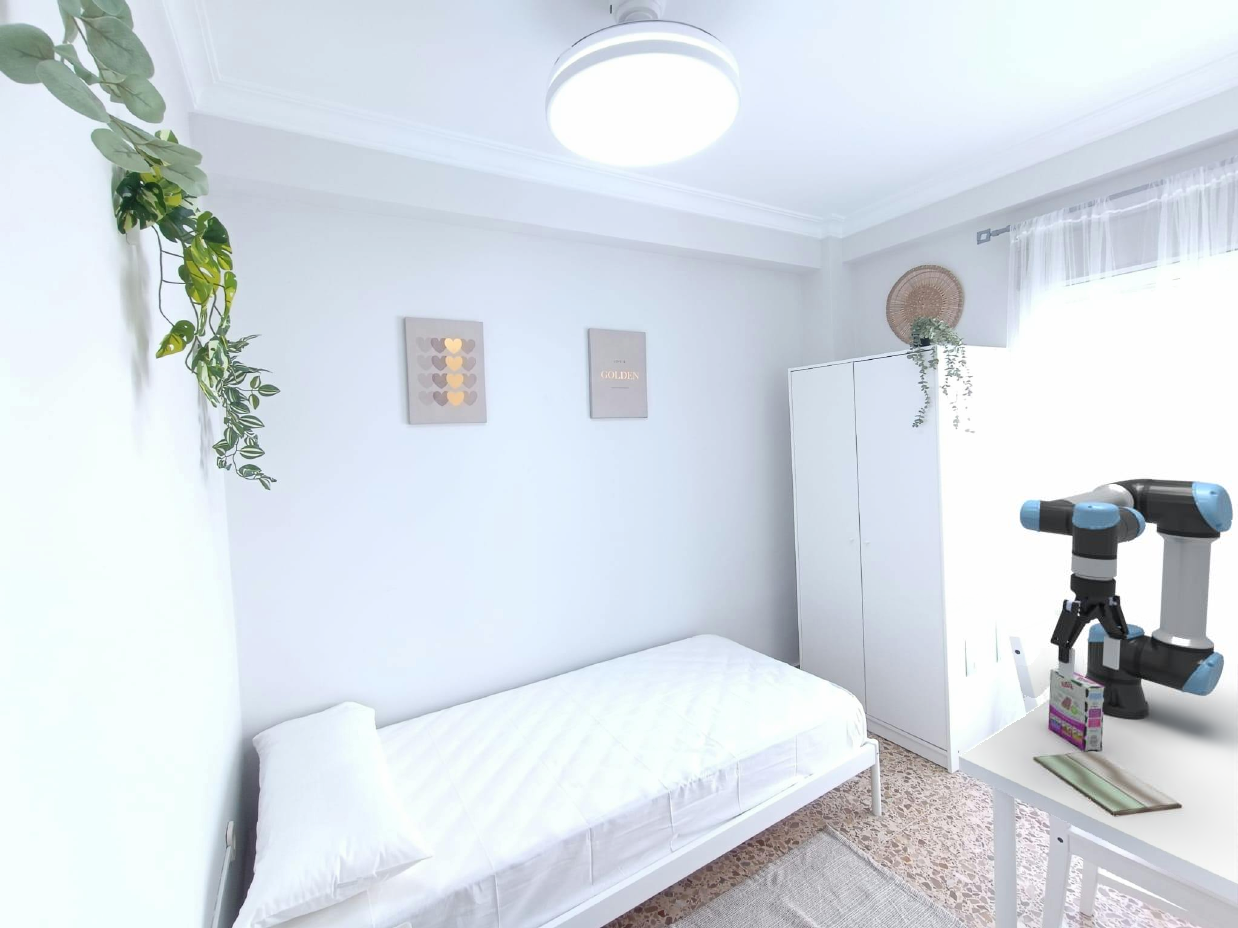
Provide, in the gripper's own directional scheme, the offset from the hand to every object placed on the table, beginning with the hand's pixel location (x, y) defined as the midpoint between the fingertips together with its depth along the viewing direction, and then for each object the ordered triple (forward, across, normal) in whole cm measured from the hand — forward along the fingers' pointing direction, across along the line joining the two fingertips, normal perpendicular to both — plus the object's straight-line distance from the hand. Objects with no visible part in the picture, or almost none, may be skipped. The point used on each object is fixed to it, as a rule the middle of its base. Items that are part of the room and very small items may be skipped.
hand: (1088, 671), depth 125 cm
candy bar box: (+27, -19, -15) cm, 37 cm away
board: (+27, -7, -1) cm, 28 cm away
